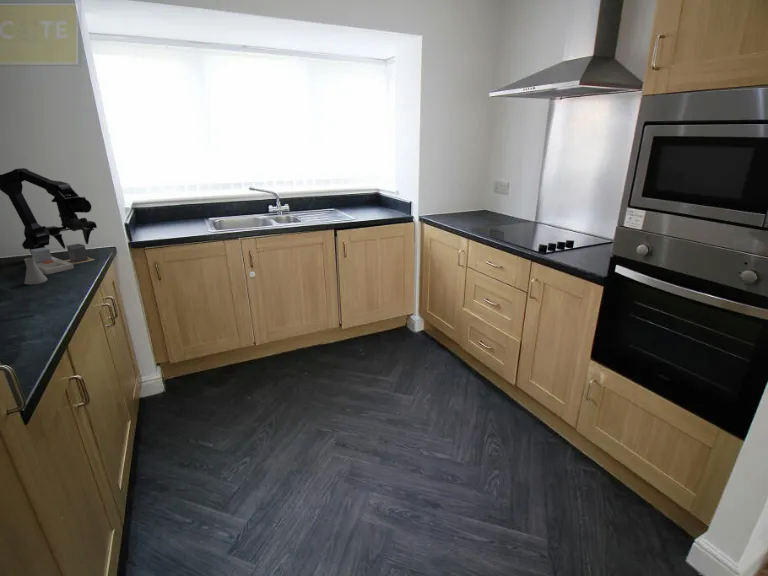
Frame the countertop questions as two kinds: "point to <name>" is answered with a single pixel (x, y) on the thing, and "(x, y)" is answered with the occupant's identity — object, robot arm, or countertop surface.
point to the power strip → (54, 266)
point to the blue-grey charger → (41, 255)
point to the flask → (33, 273)
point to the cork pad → (79, 262)
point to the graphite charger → (77, 252)
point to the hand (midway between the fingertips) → (76, 246)
